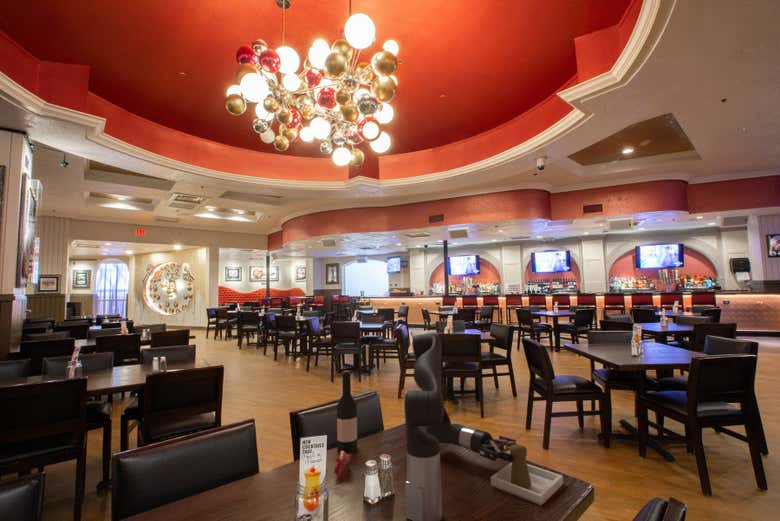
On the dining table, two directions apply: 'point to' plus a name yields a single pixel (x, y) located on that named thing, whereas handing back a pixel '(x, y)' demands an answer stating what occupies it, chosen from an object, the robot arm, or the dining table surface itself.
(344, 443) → the wine bottle
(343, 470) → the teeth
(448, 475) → the dining table surface
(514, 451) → the cork
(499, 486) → the serving tray
